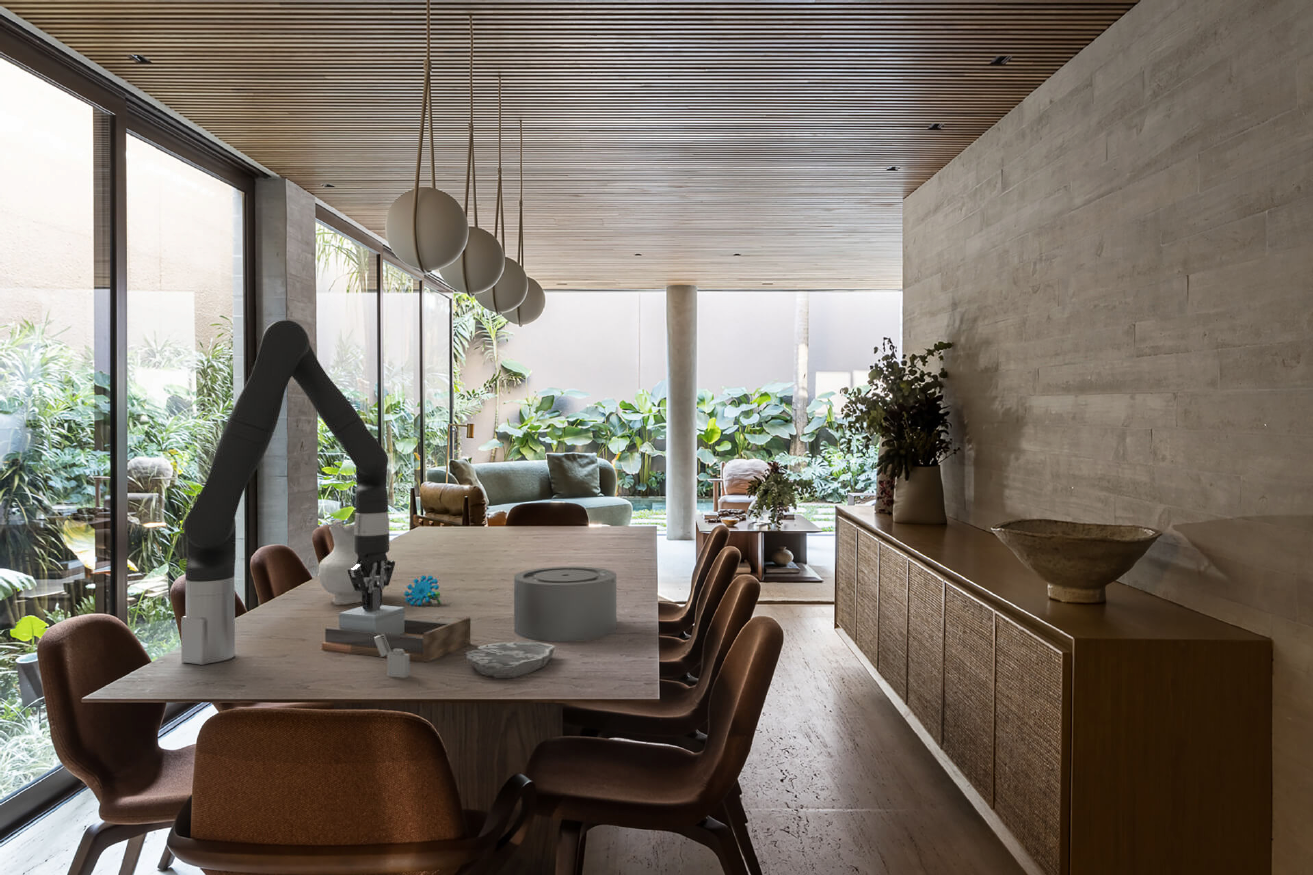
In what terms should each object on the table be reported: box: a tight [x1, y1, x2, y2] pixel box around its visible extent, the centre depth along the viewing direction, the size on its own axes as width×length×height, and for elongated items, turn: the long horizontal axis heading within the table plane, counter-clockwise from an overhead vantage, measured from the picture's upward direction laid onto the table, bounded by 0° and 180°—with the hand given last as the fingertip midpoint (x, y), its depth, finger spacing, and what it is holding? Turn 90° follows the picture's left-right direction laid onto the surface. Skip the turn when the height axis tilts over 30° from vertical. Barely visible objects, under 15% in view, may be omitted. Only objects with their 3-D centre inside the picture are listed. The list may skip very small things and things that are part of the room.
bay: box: [321, 616, 471, 663], centre depth 183 cm, size 16×28×6 cm, turn 69°
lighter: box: [374, 634, 411, 679], centre depth 161 cm, size 7×2×8 cm, turn 75°
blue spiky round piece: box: [403, 574, 442, 607], centre depth 229 cm, size 11×6×10 cm
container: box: [513, 566, 617, 643], centre depth 200 cm, size 25×25×13 cm
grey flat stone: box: [464, 640, 555, 679], centre depth 168 cm, size 20×17×3 cm
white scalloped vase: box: [317, 518, 390, 606], centre depth 234 cm, size 22×20×25 cm
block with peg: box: [338, 587, 406, 635], centre depth 185 cm, size 10×10×11 cm
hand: (372, 607), depth 185 cm, fingers open, 2 cm apart
